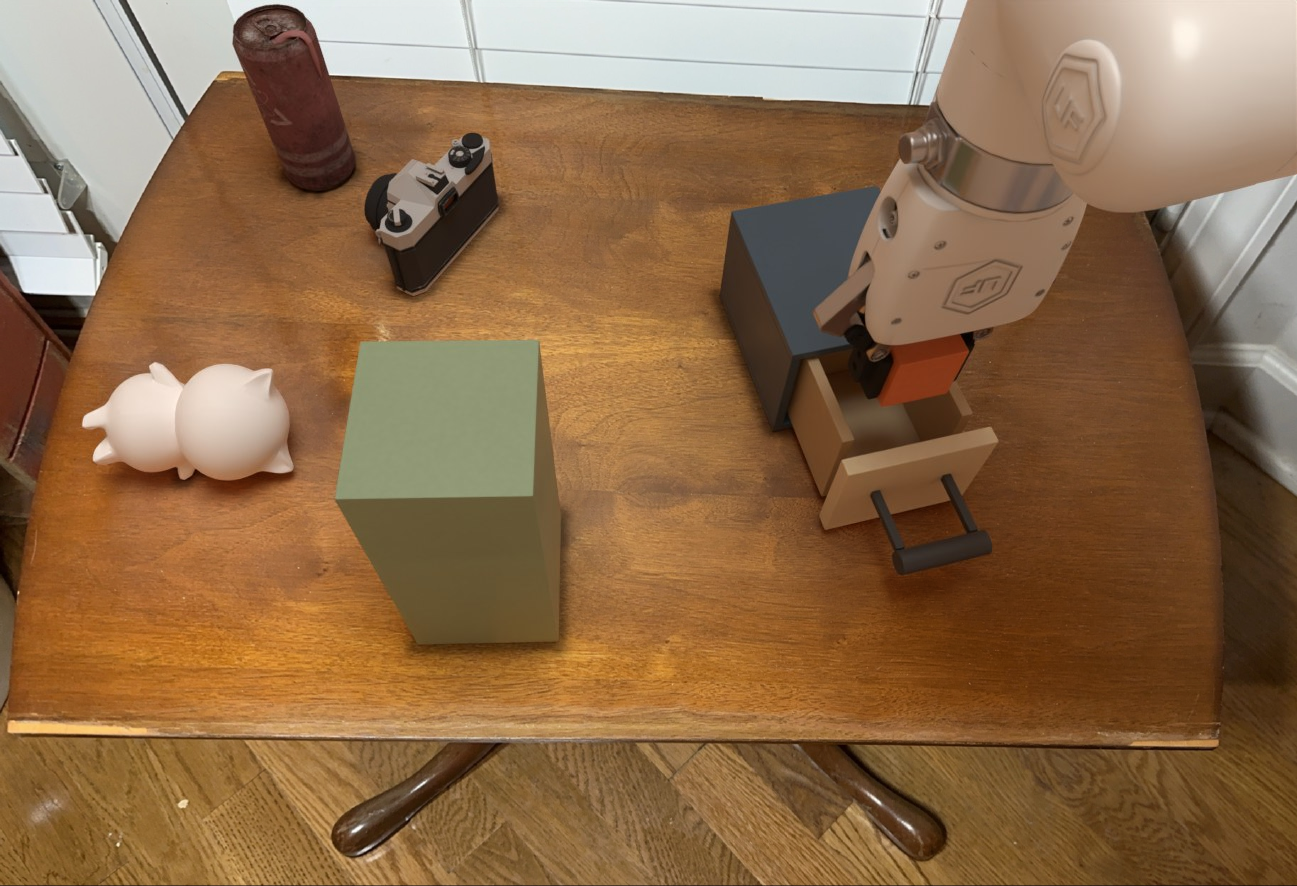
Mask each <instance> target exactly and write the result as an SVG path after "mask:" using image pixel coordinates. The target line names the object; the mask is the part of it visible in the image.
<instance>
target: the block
mask: <svg viewBox="0 0 1297 886" xmlns="http://www.w3.org/2000/svg"><path fill="white" fill-rule="evenodd" d="M968 353H969V350H968V348H967V346H966V344H965V342H964V341H963V339H962V337H961V335H960V334H956V335H951V336H946V337H941V338H936V339H931V340H926V341H921V342H915V343H910V344H903V345H895V346H894V347H893V349H892V350H891V352H890V354H891V356H892V358H893V365H892V367H891V369H890V371H889V374H888V376H887V378H886V381H885V383H884V385H883V388H882V390H881V392H880V395H878V397H877V398H878V401H879V403H880V405H881V407H886V406H891V405H896V404H900V403H905V402H910V401H914V400H919V399H924V398H928V397H933V396H938V395H942V394H946V393H947V392H948V390H949V388H950V386H951V385H952V383H953V381H954V379H955V377H956V375H957V374H958V372H959V370H960V368H961V366H962V364H963V362H964V361H965V359H966V357H967V355H968Z"/></svg>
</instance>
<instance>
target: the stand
mask: <svg viewBox="0 0 1297 886" xmlns="http://www.w3.org/2000/svg"><path fill="white" fill-rule="evenodd" d="M550 425H551V424H550V416H549V407H548V401H547V393H546V385H545V376H544V367H543V360H542V352H541V344H540V339H478V340H477V339H476V340H474V339H471V340H469V339H468V340H465V339H464V340H462V339H461V340H375V341H374V340H373V341H372V340H363V341H362V340H361V341H360V342H359V347H358V353H357V359H356V366H355V370H354V378H353V382H352V391H351V395H350V402H349V408H348V414H347V420H346V425H345V432H344V438H343V445H342V451H341V455H340V456H341V457H340V463H339V468H338V475H337V480H336V485H335V486H336V487H335V492H334V502H335V503H336V504H337V506H338V508H339V510H340V512H341V513H342V516H343V517H344V518H345V521H346V522H347V524H348V526H349V527H350V529H351V531H352V533H353V534H354V536H355V537H356V539H357V542H358V543H359V544H360V547H361V548H362V550H363V551H364V553H365V555H366V557H367V559H368V561H369V562H370V564H371V566H372V568H373V570H374V571H375V572H376V574H377V576H378V578H379V580H380V581H381V583H382V585H383V586H384V588H385V590H386V592H387V594H388V595H389V597H390V599H391V601H392V602H393V604H394V606H395V608H396V609H397V611H398V613H399V614H400V616H401V618H402V620H403V621H404V623H405V625H406V627H407V629H408V630H409V632H410V634H411V635H412V637H413V640H414V641H415V642H416V644H417V645H418V646H419V645H421V646H422V645H460V644H461V645H464V644H465V645H466V644H508V643H510V644H511V643H513V644H514V643H515V644H516V643H517V644H518V643H555V642H556V643H557V642H559V641H560V639H559V638H560V597H561V596H560V593H561V592H560V590H561V589H560V587H561V547H562V545H561V544H562V543H561V540H562V539H561V538H562V514H561V506H560V504H561V503H560V497H559V489H558V481H557V480H558V479H557V473H556V465H555V464H556V463H555V457H554V449H553V442H552V435H551V434H552V433H551V432H552V431H551V426H550Z"/></svg>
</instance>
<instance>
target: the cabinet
mask: <svg viewBox="0 0 1297 886" xmlns="http://www.w3.org/2000/svg"><path fill="white" fill-rule="evenodd" d="M880 193H881V190H880V188H879V186H878V185H872V186H866V187H861V188H855V189H850V190H845V191H839V192H832V193H827V194H820V195H815V196H810V197H809V196H808V197H804V198H799V199H798V198H797V199H793V200H786V201H781V202H777V203H770V204H764V205H758V206H751V207H748V208H747V207H746V208H741V209H735V210H731V211H730V212H731V213H730V218H729V226H728V232H727V240H726V246H725V254H724V261H723V268H722V275H721V282H720V291H719V299H720V301H721V304H722V306H723V308H724V312H725V313H726V316H727V318H728V322H729V324H730V326H731V329H732V332H733V334H734V337H735V339H736V342H737V344H738V347H739V350H740V351H741V354H742V357H743V359H744V362H745V364H746V367H747V369H748V372H749V375H750V377H751V380H752V382H753V385H754V388H755V390H756V393H757V395H758V398H759V400H760V403H761V406H762V408H763V410H764V413H765V416H766V418H767V421H768V423H769V426H770V428H771V431H772V432H777V431H781V430H786V429H791V428H793V425H792V423H791V421H790V418H789V416H788V413H787V407H788V404H789V400H790V397H791V393H792V390H793V386H794V382H795V379H796V375H797V372H798V368H799V365H800V361H801V359H805V358H810V357H815V356H820V355H825V354H830V353H835V352H840V351H845V350H849V349H853V347H854V346H853V345H851V344H850V343H848V342H847V340H846V338H845V337H840V338H839V337H836V336H833V335H830V334H827V333H824V332H822V331H821V330H820V328H819V326H818V323H817V321H816V319H815V317H814V315H813V311H814V309H815V308H816V307H817V306H818V305H819V304H821V303H822V302H823V301H824V300H825V299H826V298H827V297H828V296H829V295H831V294H832V293H833V292H834V291H835V290H836V289H837V288H838V287H839V286H841V285H842V284H843V283H844V282H845V281H846V280H847V279H848V274H849V269H850V265H851V262H852V259H853V255H854V253H855V250H856V247H857V244H858V242H859V239H860V236H861V234H862V231H863V229H864V227H865V224H866V222H867V219H868V217H869V215H870V213H871V211H872V209H873V206H874V204H875V202H876V200H877V198H878V196H879V194H880Z"/></svg>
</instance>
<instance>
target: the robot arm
mask: <svg viewBox="0 0 1297 886" xmlns="http://www.w3.org/2000/svg"><path fill="white" fill-rule="evenodd" d="M897 148H898V155H899V160H898V161H897V163H896V164H895V166H894V168H893V169H892V171H891V173H890V174H889V177H888V178H887V179H886V181H885V183H884V185H883V187H882V189H881V190H880V192H881V193H880V194H879V196H878V198H877V200H876V202H875V204H874V206H873V209H872V211H871V213H870V215H869V217H868V219H867V222H866V224H865V227H864V229H863V231H862V234H861V236H860V239H859V242H858V244H857V247H856V250H855V253H854V255H853V259H852V262H851V265H850V269H849V274H848V279H847V280H846V281H845V282H844V283H843V284H842V285H841V286H839V287H838V288H837V289H836V290H835V291H834V292H833V293H832V294H831V295H829V296H828V297H827V298H826V299H825V300H824V301H823V302H822V303H821V304H819V305H818V306H817V307H816V308H815V309H814V311H813V315H814V317H815V319H816V321H817V323H818V326H819V328H820V330H821V331H822V332H824V333H827V334H830V335H833V336H836V337H839V338H840V337H845V338H846V340H847V342H848V343H850V344H851V345H853V346H854V347H853V350H852V352H851V355H850V358H849V361H848V368H849V372H850V374H851V376H852V379H853V380H854V382H856V383H857V382H860V384H861V387H862V389H863V391H864V393H865V395H866V397H867V399H874V398H877V397H878V395H880V392H881V390H882V388H883V385H884V383H885V381H886V378H887V376H888V374H889V371H890V369H891V367H892V365H893V358H892V356H891V354H890V352H891V350H892V349H893V347H894V346H895V345H903V344H910V343H915V342H921V341H926V340H931V339H936V338H941V337H946V336H951V335H956V334H960V335H961V337H962V339H963V341H964V342H965V344H966V346H967V348H968V350H969V353H968V355H967V357H966V359H965V361H964V362H963V364H962V366H961V368H960V370H959V372H958V374H957V375H956V377H955V379H954V381H956V382H957V379H958V377H959V376H960V373H961V372H962V370H963V368H964V366H965V364H966V362H967V361H968V359H969V357H970V355H971V354H972V352H973V351H974V348H975V346H976V343H975V342H976V341H982V340H984V339H986V338H988V337H989V336H991V334H992V333H993V331H994V328H995V327H999V326H1002V325H1006V324H1010V323H1013V322H1014V323H1015V322H1017V321H1020V320H1021V319H1024V318H1027V317H1028V316H1030V315H1031V314H1033V313H1034V312H1035V311H1036V309H1038V307H1039V306H1040V305H1041V303H1042V302H1043V300H1044V299H1045V297H1046V296H1047V294H1048V293H1049V291H1050V288H1051V287H1052V286H1053V284H1055V282H1056V279H1057V276H1058V274H1059V272H1060V271H1061V268H1062V266H1063V265H1064V262H1065V260H1066V258H1067V256H1068V254H1069V252H1070V250H1071V247H1072V246H1073V243H1074V240H1075V239H1076V237H1077V235H1078V232H1079V229H1080V226H1081V223H1082V221H1083V218H1084V215H1085V212H1086V209H1087V205H1089V206H1091V207H1093V208H1096V209H1098V210H1101V211H1107V212H1111V213H1130V214H1131V213H1141V212H1147V211H1154V210H1160V209H1164V208H1167V207H1172V206H1176V205H1180V204H1185V203H1188V202H1192V201H1196V200H1201V199H1204V198H1208V197H1213V196H1217V195H1221V194H1224V193H1230V192H1233V191H1236V190H1241V189H1244V188H1247V187H1251V186H1255V185H1258V184H1260V183H1261V184H1262V183H1265V182H1269V181H1270V182H1271V181H1275V180H1279V179H1284V178H1288V177H1291V176H1296V175H1297V0H966V3H965V5H964V8H963V11H962V14H961V17H960V20H959V23H958V26H957V29H956V31H955V34H954V37H953V40H952V43H951V46H950V49H949V52H948V55H947V57H946V60H945V63H944V66H943V68H942V72H941V74H940V77H939V80H938V83H937V85H936V88H935V92H934V94H933V97H932V101H931V102H930V104H929V107H928V110H927V113H926V116H925V119H924V121H923V123H922V126H920V127H918V128H917V129H915V130H914V131H912V132H907V133H902V134H901V135H900V137H899V140H898V147H897ZM954 381H953V382H954Z"/></svg>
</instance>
